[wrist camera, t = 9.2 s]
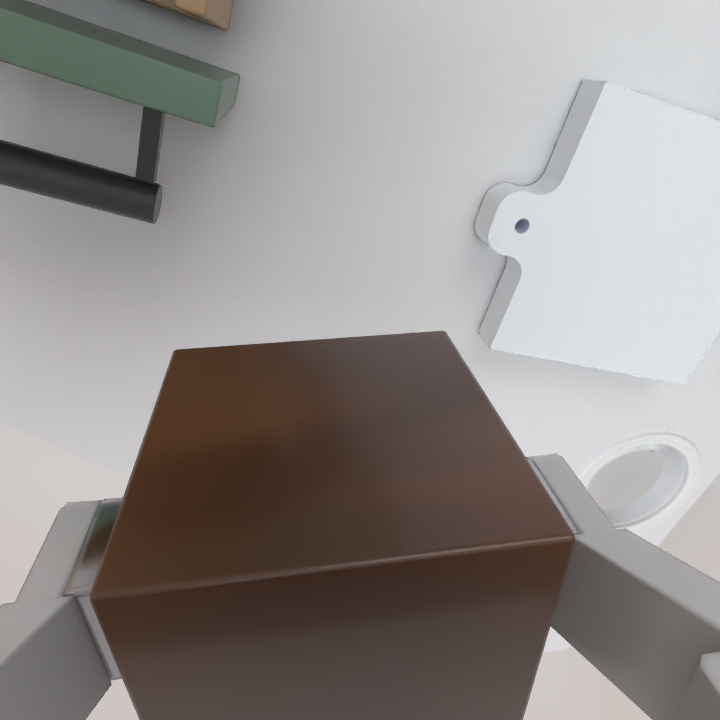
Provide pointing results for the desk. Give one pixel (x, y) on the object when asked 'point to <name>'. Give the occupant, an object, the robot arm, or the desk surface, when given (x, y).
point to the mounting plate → (612, 241)
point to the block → (330, 540)
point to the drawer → (118, 79)
